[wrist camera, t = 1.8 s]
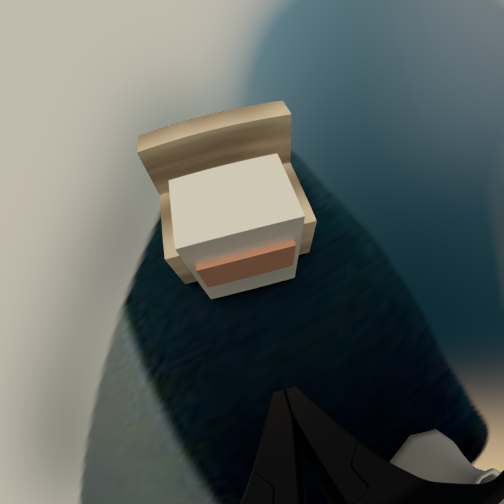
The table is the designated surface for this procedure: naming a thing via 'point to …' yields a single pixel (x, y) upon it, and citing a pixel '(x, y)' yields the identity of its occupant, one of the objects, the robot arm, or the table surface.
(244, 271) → the white box
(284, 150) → the beige toy armchair
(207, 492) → the table surface
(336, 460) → the robot arm
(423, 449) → the flask
